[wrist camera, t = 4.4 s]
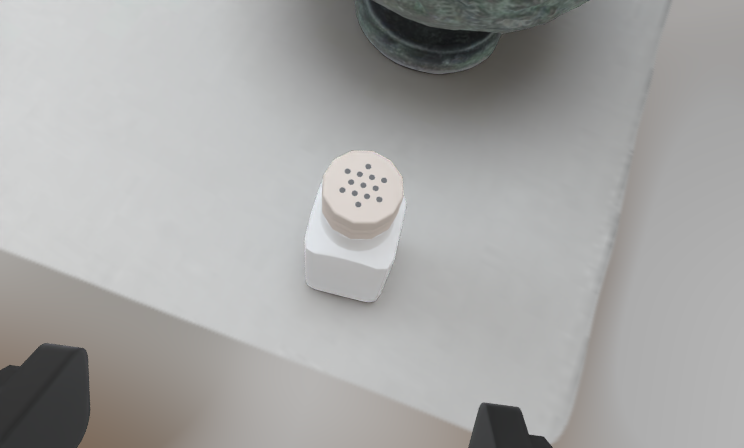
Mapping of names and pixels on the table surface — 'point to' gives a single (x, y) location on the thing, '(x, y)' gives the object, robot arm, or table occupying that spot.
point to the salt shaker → (355, 226)
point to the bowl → (449, 28)
